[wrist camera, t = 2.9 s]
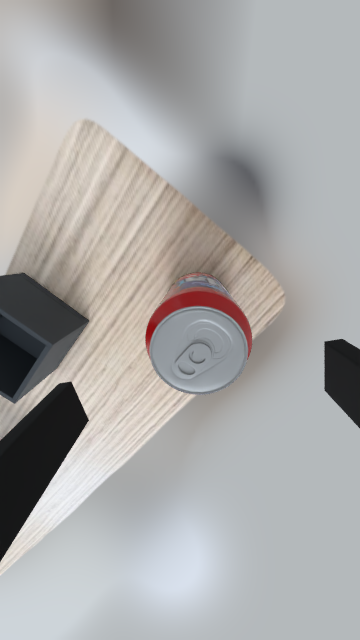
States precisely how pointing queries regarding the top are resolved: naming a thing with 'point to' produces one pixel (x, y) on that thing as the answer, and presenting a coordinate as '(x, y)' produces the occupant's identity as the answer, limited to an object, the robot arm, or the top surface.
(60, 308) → the open top storage bin
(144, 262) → the top surface
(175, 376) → the soda can
